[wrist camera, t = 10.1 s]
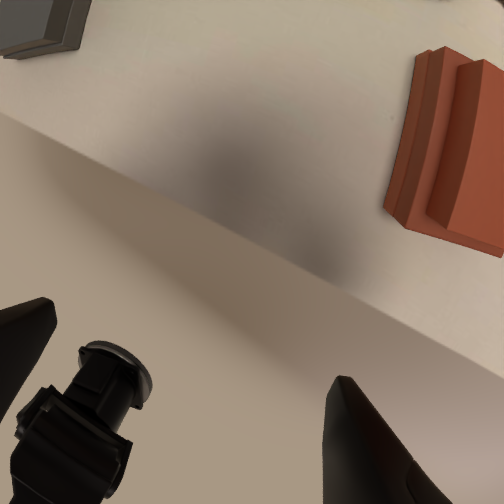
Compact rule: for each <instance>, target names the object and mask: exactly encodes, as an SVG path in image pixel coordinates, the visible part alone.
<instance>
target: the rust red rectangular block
mask: <svg viewBox="0 0 504 504" xmlns="http://www.w3.org/2000/svg"><path fill="white" fill-rule="evenodd" d="M426 214H427V215H428V216H429V217H431V218H432V219H433V220H435V221H436V222H437V223H439V224H440V225H441V226H442V227H444V228H445V229H446V230H448V231H451V232H454V233H457V234H460V235H463V236H466V237H469V238H472V239H475V240H478V241H481V242H484V243H487V244H489V245H492V246H495V247H498V248H500V249H503V250H504V71H503V70H501V69H499V68H498V67H496V66H495V65H493V64H491V63H490V62H488V61H487V60H485V59H481V60H477V61H473V62H469V63H466V64H462V65H459V66H458V73H457V80H456V87H455V94H454V100H453V106H452V111H451V117H450V122H449V127H448V131H447V136H446V141H445V145H444V149H443V154H442V158H441V162H440V166H439V169H438V173H437V177H436V181H435V184H434V188H433V191H432V195H431V198H430V201H429V205H428V208H427V211H426Z"/></svg>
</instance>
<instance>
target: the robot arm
mask: <svg viewBox="0 0 504 504" xmlns="http://www.w3.org/2000/svg"><path fill="white" fill-rule="evenodd" d="M56 325H57V317H56V312H55V306H54V303H53V301H52V300H50V299H48V298H45V297H40V298H37V299H34V300H31V301H28V302H25V303H21V304H18V305H15V306H12V307H8V308H5V309H2V310H0V423H1V421H2V419H3V417H4V416H5V414H6V412H7V410H8V409H9V407H10V405H11V403H12V402H13V400H14V398H15V397H16V395H17V393H18V392H19V390H20V388H21V387H22V385H23V383H24V382H25V380H26V379H27V377H28V376H29V374H30V373H31V371H32V369H33V368H34V366H35V365H36V363H37V362H38V360H39V358H40V356H41V354H42V352H43V350H44V348H45V346H46V345H47V343H48V341H49V339H50V337H51V335H52V334H53V332H54V330H55V328H56ZM79 355H80V360H81V364H82V367H81V369H80V370H79V372H78V373H77V374H76V375H75V377H74V378H73V380H72V382H71V384H70V385H69V387H68V388H67V389H66V391H65V392H64V394H63V395H62V394H61V393H60V392H59V391H57V390H56V388H55V387H54V386H53V385H50V386H49V388H44V387H41V389H40V390H39V391H38V393H37V394H36V395H35V397H34V398H33V399H32V400H31V401H30V402H29V403H28V404H27V405H26V406H25V407H24V408H23V409H22V410H21V411H20V412H19V413H18V414H17V416H16V418H17V423H18V425H17V427H16V428H17V430H16V432H15V435H14V436H15V437H16V438H17V439H19V440H20V441H19V443H18V445H17V446H16V448H15V450H14V451H13V453H12V455H11V459H10V473H11V475H12V485H13V493H14V495H13V498H12V500H11V501H10V503H9V504H100V503H101V502H102V500H103V498H106V499H108V498H110V497H111V496H112V495H113V494H114V492H115V491H116V490H117V488H118V486H119V484H120V482H121V480H122V478H123V475H124V472H125V469H126V465H127V462H128V458H129V455H130V452H131V449H132V445H133V442H131V441H129V440H126V439H124V438H123V437H121V436H120V435H118V434H116V433H117V431H118V429H119V427H120V425H121V423H122V421H123V419H124V417H125V415H126V413H127V411H128V409H129V407H132V408H135V409H138V410H141V409H142V407H143V399H142V389H141V378H140V369H139V368H138V367H137V366H135V365H133V364H130V363H127V362H124V361H121V360H118V359H115V358H113V357H110V356H107V355H104V354H102V353H99V352H96V351H94V350H91V349H89V348H86V347H84V346H81V347H80V349H79ZM45 410H46V411H45ZM322 456H323V504H452V502H451V501H450V500H449V499H448V498H447V497H446V496H445V495H444V494H443V493H442V492H441V491H440V490H439V489H438V488H437V487H436V486H435V484H434V483H433V482H432V481H431V480H430V479H429V477H428V476H427V475H426V474H425V472H424V471H423V470H422V469H421V467H420V466H419V465H418V463H417V462H416V461H415V460H413V457H412V456H411V454H410V453H409V452H408V450H407V449H406V448H405V446H404V445H403V444H402V443H401V441H400V440H399V439H398V438H397V436H396V435H395V433H394V432H393V431H392V429H391V428H390V427H389V426H388V424H387V423H386V422H385V420H384V419H383V418H382V416H381V415H380V414H379V413H378V411H377V410H376V409H375V408H374V406H373V405H372V403H371V402H370V401H369V399H368V398H367V397H366V395H365V394H364V393H363V392H362V390H361V389H360V388H359V387H358V385H357V384H356V382H355V381H354V380H353V379H352V378H351V377H347V376H340V375H339V376H337V377H336V379H335V380H334V383H333V384H332V386H331V388H330V390H329V392H328V394H327V398H326V407H325V419H324V431H323V442H322Z"/></svg>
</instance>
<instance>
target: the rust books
mask: <svg viewBox="0 0 504 504" xmlns="http://www.w3.org/2000/svg"><path fill="white" fill-rule="evenodd" d="M469 62H473V60H471V59H469V58H468V57H466V56H464V55H462V54H460V53H458V52H456V51H454V50H452V49H450V48H448V47H446V46H444V47H442V48H439V49H437V50H435V51H431V50H427V51H425V52H423V53H421V54H419V55H417V56H416V62H415V69H414V75H413V81H412V87H411V93H410V98H409V104H408V109H407V114H406V119H405V123H404V128H403V132H402V137H401V141H400V146H399V150H398V154H397V158H396V162H395V166H394V170H393V174H392V178H391V181H390V185H389V189H388V192H387V196H386V199H385V203H384V206H383V208H384V209H385V210H386V211H387V212H388V213H389V214H390V215H391V216H392V217H394V218H395V219H396V220H397V221H398V222H399V223H400V224H401V225H402V226H403V227H404V228H405V229H408V230H412V231H415V232H419V233H422V234H426V235H429V236H432V237H436V238H439V239H442V240H446V241H449V242H452V243H456V244H459V245H462V246H465V247H468V248H471V249H474V250H478V251H481V252H484V253H487V254H490V255H493V256H496V257H499V258H502V256H503V253H504V250H503V249H500V248H498V247H495V246H492V245H489V244H487V243H484V242H481V241H478V240H475V239H472V238H469V237H466V236H463V235H460V234H457V233H454V232H451V231H448V230H446V229H445V228H444V227H442V226H441V225H440V224H439V223H437V222H436V221H435V220H433V219H432V218H431V217H429V216H428V215H427V214H426V211H427V208H428V205H429V201H430V198H431V195H432V191H433V188H434V184H435V181H436V177H437V173H438V169H439V166H440V162H441V158H442V154H443V149H444V145H445V141H446V136H447V131H448V127H449V122H450V117H451V111H452V106H453V100H454V94H455V87H456V80H457V73H458V66H459V65H462V64H466V63H469Z"/></svg>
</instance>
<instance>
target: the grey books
mask: <svg viewBox="0 0 504 504" xmlns="http://www.w3.org/2000/svg"><path fill="white" fill-rule="evenodd" d="M90 3H91V0H1V2H0V56H3V58H4V59H24V58H28V57H33V56H38V55H43V54H49V53H54V52H61V51H67V50H75V49H79V46H80V41H81V37H82V33H83V28H84V24H85V21H86V17H87V13H88V10H89V6H90Z"/></svg>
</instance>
